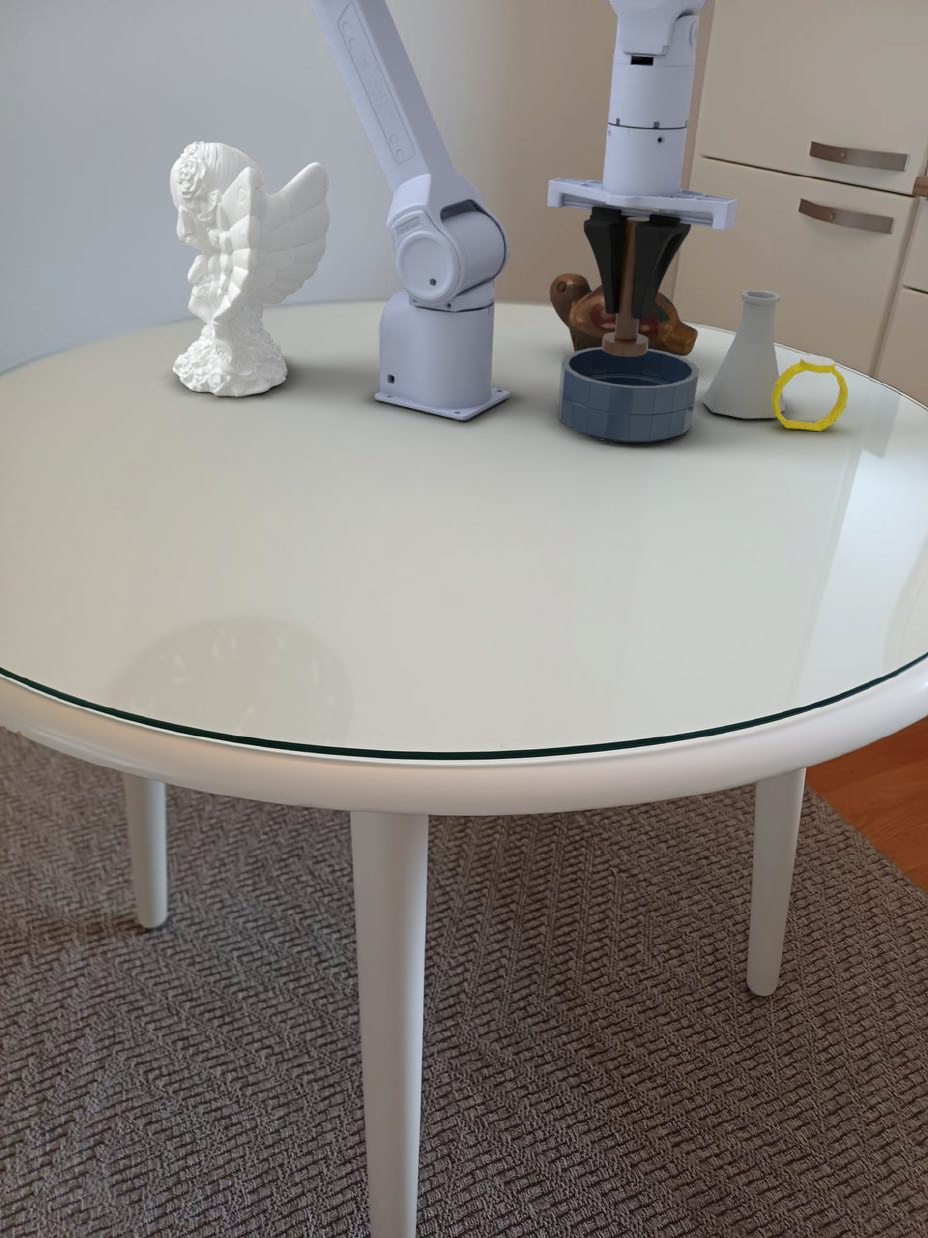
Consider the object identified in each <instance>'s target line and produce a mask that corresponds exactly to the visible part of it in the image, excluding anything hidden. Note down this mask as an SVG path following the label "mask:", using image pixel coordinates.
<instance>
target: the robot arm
mask: <svg viewBox="0 0 928 1238" xmlns="http://www.w3.org/2000/svg"><path fill="white" fill-rule="evenodd" d="M601 1H602V2H605V3H607V2H609V3H610V6H611V8H612V10H613V12H614V13H615V15H616V17H617V24H616V36H615V45H614V52H613V61H612V70H611V71H612V72H611V84H610V96H609V106H608V107H609V108H608V118H607V128H606V129H607V130H606V141H605V153H604V161H603V163H604V164H603V175H602V180H598V179H597V180H596V179H581V178H570V177H569V178H568V177H557V178H554V179H553V178H552V179H549V180H548V187H547V188H548V189H547V205H546V206H547V207H548V208H554V209H555V208H556V209H561V208H569V209H576V210H585V211H590V212H591V214H590V215H589V218H588V219H585V220H584V221H583V232H584V235H585V237H586V238H587V241H588V244H589V246H590V247H591V250H592V253H593V256H594V259H595V263H596V265H597V268H598V273H599V277H600V281H601V284H602V288H603V295H604V302H605V313H607V314H612V315H613V314H615V313H617V306H618V296H619V286H620V276H621V266H622V256H623V246H624V236H625V226H626V219H627V218H630V217H641V218H647V219H649V223H643V224H641V225H638V226H635V240H636V258H637V269H636V283H635V291H634V299H633V318H634V319H639V320H641V319H644V318H645V317H647V316H649V315H651V313H652V309H653V305H654V302H655V299H656V296H657V293H658V291H660V288H661V285H662V282H663V280H664V278H665V276H666V273H667V271H668V269H669V268H670V265H671V263H672V261H673V259H674V258H675V256H676V254H677V252H678V251H679V249H680V247H682V244H683V242H685V240H686V238H687V237H688V236H689V233H690V231H691V228H692V226H693V225H694V226H700V227H708V228H712V230H715V231H723V232H726V231H728V230H730V229H733V228H735V227H736V220H737V213H738V207H739V199H738V198H731V197H725V196H719V195H714V194H709V193H704V192H699V191H695V190H694V191H693V190H689V189H683V188H681V183H682V177H683V175H682V174H683V169H684V168H683V167H684V159H685V151H686V142H687V133H688V126H689V119H690V118H689V117H690V110H691V103H692V94H693V93H692V92H693V85H694V77H695V69H696V61H697V54H696V51H697V41H698V34H699V24H700V14H699V13H700V12H701V11H702V10H703V9H704V7H705V6H706V4H707V3H708V1H709V0H601ZM308 2H309V4H310V6H311V9H312V12H313V13H314V16H315V18H316V20H317V23H318V25H319V27H320V30H321V32H322V34H323V36H324V39H325V42H326V43H327V46H328V48H329V51H330V53H331V55H332V57H333V60H334V62H335V64H336V66H337V69H338V71H339V73H340V76H341V78H342V80H343V83H344V86H345V88H346V89H347V92H348V94H349V97H350V99H351V101H352V104H353V106H354V109H355V111H356V113H357V115H358V117H359V120H360V122H361V125H362V127H363V129H364V131H365V135H366V136H367V139H368V141H369V143H370V146H371V148H372V150H373V153H374V155H375V157H376V160H377V162H378V165H379V166H380V169H381V171H382V173H383V175H384V178H385V180H386V183H387V185H388V187H389V190H390V192H391V195H392V201H391V205H390V208H389V211H388V215H387V217H386V223H385V227H386V230H387V232H388V234H389V237H390V240H391V243H392V248H393V262H394V263H393V265H394V270H395V271H394V272H395V275H396V278H397V281H398V283H399V284H400V286H401V288H402V291H401V290H400V291H398V292H395V293H394V294H393V295H392V296H391V297H390V298H389V299H388V300H387V301H386V303H385V305H384V307H383V311H382V313H381V316H380V321H379V330H378V331H379V332H378V333H379V334H378V336H379V338H378V339H379V340H378V341H379V342H378V343H379V392H376V393H375V394H374V399H375V400H376V401H379V402H384V403H387V404H392V405H396V406H399V407H404V408H409V409H412V410H417V411H421V412H425V413H429V414H434V415H437V416H442V417H445V418H450V419H454V420H458V421H469V420H470V419H471V418H473V417H475V416H477V415H479V414H481V413H482V412H484V411H486V410H488V409H489V408H492V407H493V406H496V405H497V404H499V403H500V402H502V401H504V400H507V399H508V398H509V397H510V396H511V392H510V391H509V390H505V389H502V388H496V387H492V379H493V353H494V352H493V351H494V328H495V327H494V326H495V304H496V302H495V300H496V292H495V279H497V278H498V277H500V275H501V274H502V272H503V271H504V269H505V268H506V266H507V263H508V260H509V256H510V241H509V237H508V234H507V231H506V229H505V227H504V225H503V223H502V222H501V221H500V219H499V218H498V217H496V216H495V214H494V213H493V212H491V211H490V209H488V208H487V207H486V204H485V203H484V201H483V199H482V197H481V195H480V193H479V190H478V188H477V187H476V186H475V185H474V184H473V183H472V182H471V181H470V180H468V179H467V178H466V177H465V176H464V175H462V174H461V173H460V172H459V171H458V170H457V169H456V168H455V166H454V165H453V161H452V160H451V157H450V154H449V151H448V149H447V148H446V145H445V142H444V140H443V137H442V135H441V132H440V130H439V128H438V125H437V123H436V120H435V118H434V116H433V113H432V111H431V108H430V106H429V104H428V103H429V102H427V98H426V96H425V94H424V92H423V89H422V86H421V84H420V82H419V79H418V77H417V74H416V72H415V69H414V67H413V64H412V63H411V60H410V57H409V54H408V52H407V50H406V47H405V45H404V42H403V41H402V38H401V36H400V33H399V31H398V29H397V26H396V23H395V21H394V19H393V16H392V13H391V11H390V8H389V7H388V4H387V1H386V0H308ZM652 209H653V210H652Z"/></svg>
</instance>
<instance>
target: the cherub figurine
mask: <svg viewBox="0 0 928 1238" xmlns="http://www.w3.org/2000/svg"><path fill="white" fill-rule="evenodd" d="M169 187H170V188H169V189H170V193H171V198H172V201H173V205H174V207H175V208H176V209H177V212H178V213H177V214H178V217H177V222H176V236H177V238H178V240H179V242H181V243H182V244H183V245H185V246H187V247H191V248H194V249H198V250H199V251H200V252H201V254H198V255H196V257H195V258H194V261H193V264H192V265H191V267H190V268H189V270H188V273H187V281H188V283H189V284H191V285H193V287H192V291H191V293H190V299H189V300H188V306H187V307H188V311H189V312H190V313H192V314H193V315H194V316H196V317H197V318H199V319H201V320H202V321H203V322H204V323H205V324H206V325H204V326H203V328H202V329H201V332H200V333H201V335H199V337H198V338H197V340H196V341H193V342H192V343H191V345H190V346H189V347H188V348H187V351H186V352H184V354H183V353H181V354H180V355H178V356H177V357H176V359H175V360H174V364H173V366H172V372H173V373H174V374H176V375H177V376H178V377H179V380H180V382H181V384H183V385H184V386H185V387H187V388H189V390H190V391H194V392H198V393H203V392H204V393H207V392H208V393H212V394H213V395H215V396H217V397H236V398H239V397H244V396H249V395H254V394H261V393H265V392H267V391H269V390H270V389H271V388H273V387H275V386H278V385H281V384H283V383H284V382H285V381H286V379H287V377H286V376H287V375H288V367H287V364H286V361H285V354H284V353H283V352H282V349H281V346H280V345H279V344H275V343H274V339H273V338H272V337H271V336H272V335H271V333H270V332H268V331H266V329H264V326H263V325H264V323H263V321H262V317H263V313H264V312H263V311H264V305H267V304H268V305H277V304H281V303H283V302H284V300H285V299H286V298H287V297H288V296H291V295H293V294H295V293H296V292H298V291H299V290H300V289H301V288H302V287H303V286H304V283H305V282H306V281H308V280H309V279H311V278H312V277H313V276H314V275H315V273H316V272H317V270H318V266H319V263H320V262H321V260H322V258H323V257H324V256H325V253H326V248H327V241H326V235H327V232H328V230H329V226H330V216H331V215H330V209H329V206H328V203H327V202H326V196H327V192H328V189H329V175H328V172H327V169H325V167H324V166H323V164H322V163H321V162H319V161H314V162H312V163H309V164H308V165H306V166H305V167H304V168H303V169H302V170H300V171H299V172H297V174H296V175H295V176H294V177H293V178H292V179H291V180H290V181H289V182H288V183H287V184H285V185H284V187H282V188H281V189H279V190H278V191H277V192H275V193H273V194H269V193H268V192H267V184H266V179H265V176H264V174H263V171H262V170H261V168H260V166H259V165H258V164H257V163H256V162H255V161H254V160H253V159H252V158H251V157H250V156H249V155H248V154H246V153H244V152H243V151H241V150H240V149H238V148H235V147H233V146H230V145H228V144H226V143H222V142H205V140H200V141H198V140H197V141H194V142H192V143H190V144H188V145H187V146H186V147H185V148H184V149H183V153H181V154H180V157H179V158H178V159H177V160H176V161H175V162H174V164H173V165H172V167H171V171H170V175H169Z"/></svg>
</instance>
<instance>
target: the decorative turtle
mask: <svg viewBox="0 0 928 1238" xmlns="http://www.w3.org/2000/svg"><path fill="white" fill-rule="evenodd" d="M549 300H550V302H551V304H552V308H553V309H554V311H555V313H556V315H557V317H559V319H560V320H561V322H562V323H563V324H564V325H565V326H566V327H567V329H568V330H569V334H570V335H569V336H570V338H571V343H572V346H573V352H576V351H580V350H584V349H588V348H596V347H602V342H603V336H604V335H605V334H607V333H611V332H615V326H616V316H617V313H615V314H613V315H612V314H607V313H605V302H604V295H603V288H602V283H601V284H600V285H599V286H597V287H596V288H595V289H593V290H592V289H591V286H590V284H589V282H588V277H585V276H583V275H582V274H579V273H575V272H574V273H573V272H567V273H561V274H559V275H558V276H556V277H555V278H554V279H553V281H552V282H551V284H550V288H549ZM638 334H641V335H644V336H646V337H647V338H648V349H653V350H658V351H663V352H668V353H671V354H674V355H677V356H680V357H687V356H688V355H689V354H691V353H692V351H693V349H694V347H695V344H696V341H697V338H698V335H699V332H698V330H697V329H696V328H695V327H693V326H691V325H689V324H686V323H684V322H683V321H681V320H680V315H679V314H678V310H677V308H676V307H675V305H674V303H673V302H672V301H671V300H670V298H668V297H667V296H666V295H665V294H664V293H663V292H661V291H660V290H658V293H657V296H656V299H655V302H654V305H653V309H652V313H651V315H649V316H647V317H645V318H644V319H641V320H639V327H638Z"/></svg>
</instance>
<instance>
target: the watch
mask: <svg viewBox="0 0 928 1238" xmlns="http://www.w3.org/2000/svg"><path fill="white" fill-rule="evenodd" d="M835 367H836V361H835V360H833V359H832V358H830V357H826V356H822V355H814V354H808V355H807V354H806V355H803V356H801V358H800V361H799V362H797V363H795V364H792V365H790V366H789V367H787V368H786V369H785V370H784V371H783V372H782V374H781V375H779V378H778V379H777V381H776V383H775V386H774V389H773V392H772V397H771V400H772V406H773V411H774V413H775V415H776V416H777V417H776V419H778V421H779V422H780V423H781V425H783V427H784V428H787V429H794V430H795V429H796V430H806V431H816V432H821V431H823V430H825V429H827V428H828V427H830V426H832V425H833V424H834V423H836V422H837V421H838V419H839V418H840V416H841V415H842V414H843V413H844V411H845V409H846V406H847V402H848V397H849V389H848V386H847V383H846V380H845V377H844V376H843V374H842V373H841V372H840V371H839V370H837V368H835ZM805 371H808V372H811V373H817V374H830V373H831V374H832V375H833V376H834V377H835V378H836V381H837V385H838V387H839V391H838V396H837V401H836V403H835V404H834V406H833V407H832V408H831V410H830V411H829V413H828V414H827V415H825V416H824V417H822V418H820V419H818V420H817V421H814V422H812V421H811V422H809V421H802V420H801V421H800V420H793V419H786V418H785V417H784V415H783V414H782V412H780V406H779V399H780V396H781V393H782V392H783V390H784V387H785V386H786V385H787V384H788V383H789V382H790V381H791V380H792V379H793V378H794V377H795V376H796V375H798V374H800V373H803V372H805Z"/></svg>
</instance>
